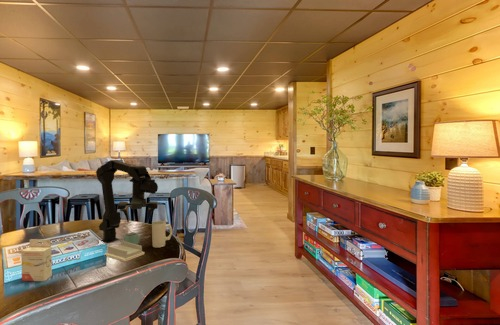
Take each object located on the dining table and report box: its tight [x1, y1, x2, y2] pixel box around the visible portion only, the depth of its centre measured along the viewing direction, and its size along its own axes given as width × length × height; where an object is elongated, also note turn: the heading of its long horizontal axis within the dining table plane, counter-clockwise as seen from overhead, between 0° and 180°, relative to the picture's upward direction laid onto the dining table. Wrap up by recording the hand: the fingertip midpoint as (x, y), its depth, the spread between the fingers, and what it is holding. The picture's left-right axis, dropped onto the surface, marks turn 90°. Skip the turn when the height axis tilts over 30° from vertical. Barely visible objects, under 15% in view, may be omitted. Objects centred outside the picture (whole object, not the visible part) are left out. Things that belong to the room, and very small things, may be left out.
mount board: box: [104, 240, 145, 263], centre depth 143 cm, size 14×11×4 cm
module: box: [123, 231, 140, 245], centre depth 158 cm, size 6×4×6 cm, turn 150°
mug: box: [151, 220, 173, 249], centre depth 156 cm, size 10×7×12 cm, turn 103°
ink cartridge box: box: [20, 238, 53, 282], centre depth 116 cm, size 9×5×15 cm, turn 92°
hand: (138, 222), depth 153 cm, fingers open, 9 cm apart
